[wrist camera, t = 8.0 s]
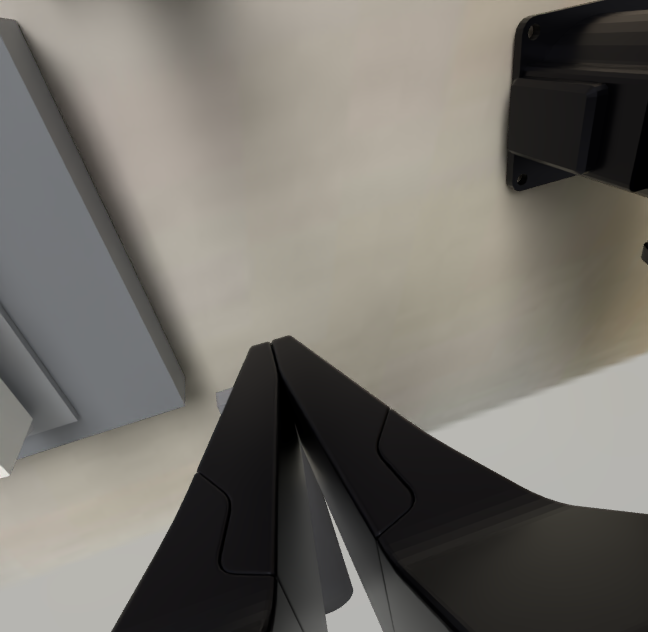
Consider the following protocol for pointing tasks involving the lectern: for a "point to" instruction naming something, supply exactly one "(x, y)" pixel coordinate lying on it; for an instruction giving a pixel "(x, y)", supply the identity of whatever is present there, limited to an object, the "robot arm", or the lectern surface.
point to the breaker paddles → (11, 429)
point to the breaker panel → (67, 280)
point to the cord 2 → (319, 536)
